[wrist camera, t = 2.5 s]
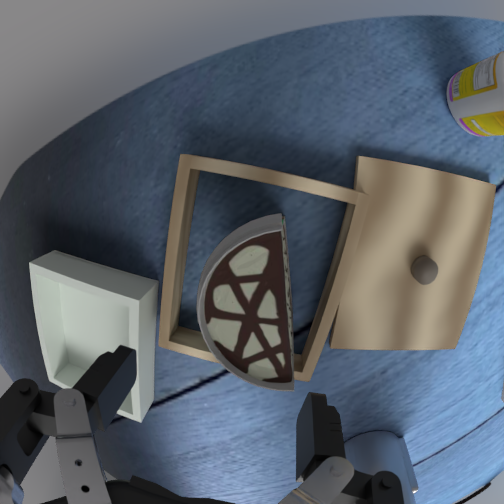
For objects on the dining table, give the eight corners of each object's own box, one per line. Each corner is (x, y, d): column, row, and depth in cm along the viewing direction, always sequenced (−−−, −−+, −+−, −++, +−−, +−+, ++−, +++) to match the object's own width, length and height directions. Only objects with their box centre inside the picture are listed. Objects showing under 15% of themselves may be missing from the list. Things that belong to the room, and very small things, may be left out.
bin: (159, 281, 29) (139, 300, 25) (154, 398, 34) (141, 422, 30) (54, 250, 30) (29, 262, 25) (66, 362, 35) (49, 380, 30)
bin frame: (361, 191, 25) (370, 195, 22) (307, 363, 30) (309, 381, 27) (191, 154, 25) (180, 153, 22) (168, 330, 31) (158, 346, 28)
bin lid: (490, 183, 22) (502, 186, 20) (451, 344, 28) (459, 354, 26) (356, 156, 24) (362, 155, 22) (329, 342, 29) (331, 355, 27)
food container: (212, 205, 26) (171, 230, 17) (283, 198, 26) (281, 219, 16) (231, 329, 30) (208, 397, 20) (293, 326, 29) (294, 396, 19)
